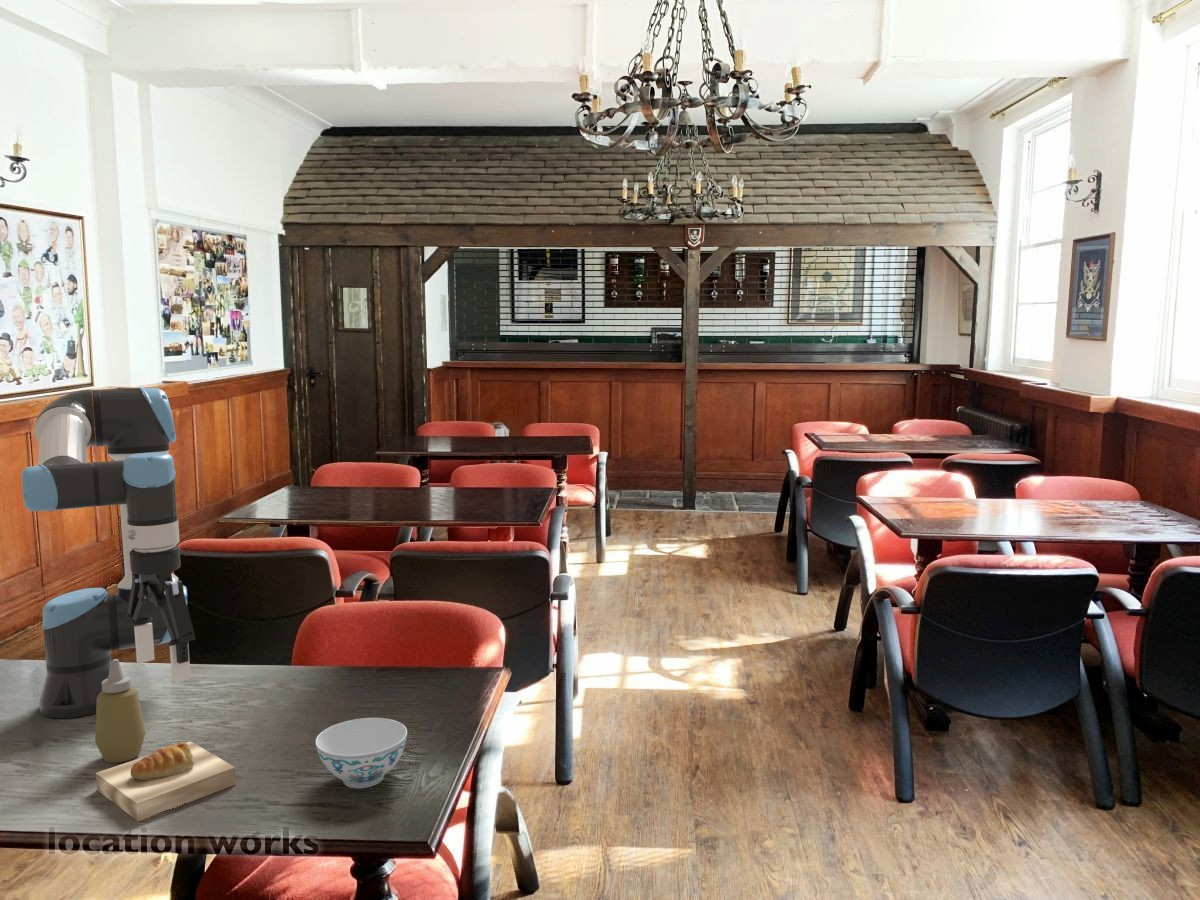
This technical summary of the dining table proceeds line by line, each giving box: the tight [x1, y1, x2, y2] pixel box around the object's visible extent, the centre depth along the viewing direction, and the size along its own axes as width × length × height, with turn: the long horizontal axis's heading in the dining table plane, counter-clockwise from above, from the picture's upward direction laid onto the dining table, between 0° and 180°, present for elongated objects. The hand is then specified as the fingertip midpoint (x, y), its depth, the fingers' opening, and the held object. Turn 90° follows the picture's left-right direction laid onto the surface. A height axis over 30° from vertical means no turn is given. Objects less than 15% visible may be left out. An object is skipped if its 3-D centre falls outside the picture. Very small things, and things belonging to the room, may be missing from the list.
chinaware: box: [315, 717, 408, 789], centre depth 158 cm, size 15×15×8 cm
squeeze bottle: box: [94, 658, 146, 764], centre depth 167 cm, size 8×8×18 cm
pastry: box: [131, 741, 195, 781], centre depth 155 cm, size 9×7×4 cm
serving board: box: [95, 740, 237, 822], centre depth 156 cm, size 16×16×3 cm
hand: (163, 670), depth 157 cm, fingers open, 13 cm apart
